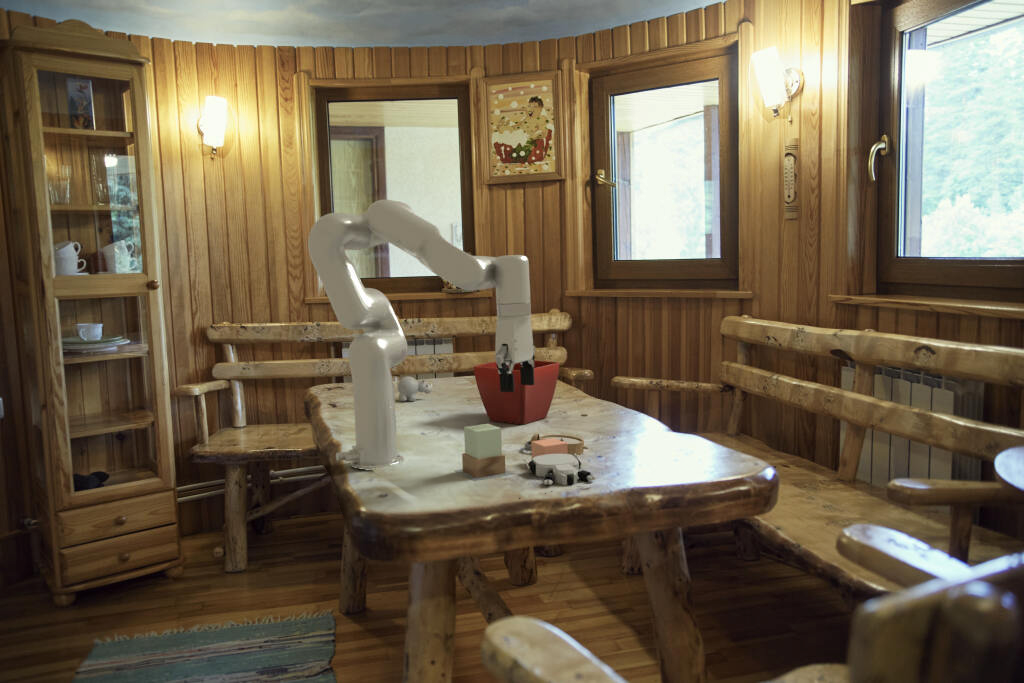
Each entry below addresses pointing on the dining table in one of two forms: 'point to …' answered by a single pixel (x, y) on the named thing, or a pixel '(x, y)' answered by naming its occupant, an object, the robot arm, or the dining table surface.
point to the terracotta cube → (548, 447)
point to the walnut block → (483, 465)
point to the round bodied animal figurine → (411, 388)
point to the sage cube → (483, 441)
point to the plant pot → (517, 392)
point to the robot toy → (558, 469)
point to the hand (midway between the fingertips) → (517, 388)
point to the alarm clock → (573, 443)
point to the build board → (481, 477)
